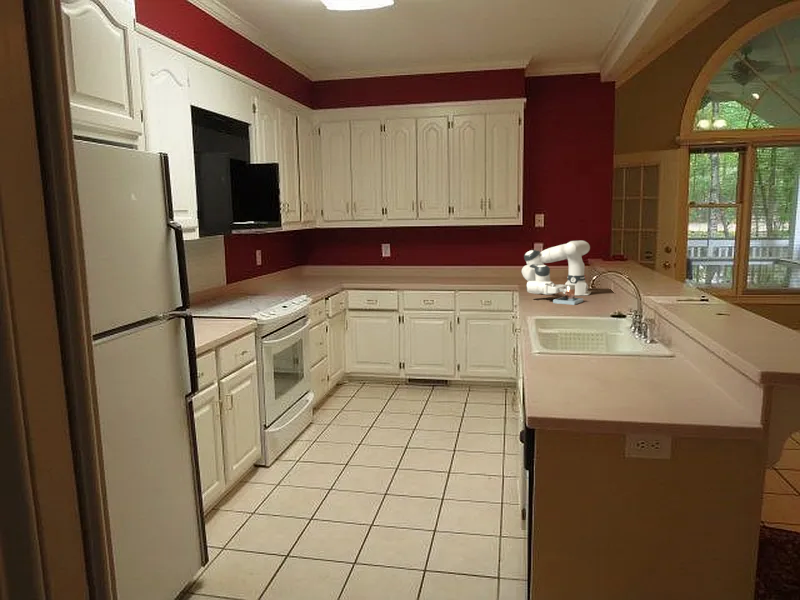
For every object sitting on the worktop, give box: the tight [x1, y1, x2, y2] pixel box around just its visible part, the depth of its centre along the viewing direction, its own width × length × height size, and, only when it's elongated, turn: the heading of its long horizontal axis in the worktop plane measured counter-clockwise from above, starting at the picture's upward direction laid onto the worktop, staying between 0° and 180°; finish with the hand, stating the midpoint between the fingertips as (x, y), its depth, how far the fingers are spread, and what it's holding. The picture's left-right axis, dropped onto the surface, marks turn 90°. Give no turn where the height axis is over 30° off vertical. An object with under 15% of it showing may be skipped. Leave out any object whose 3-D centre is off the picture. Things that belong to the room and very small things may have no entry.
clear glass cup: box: [564, 284, 576, 301], centre depth 377 cm, size 6×6×11 cm
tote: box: [552, 296, 584, 306], centre depth 375 cm, size 16×14×3 cm
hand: (569, 289), depth 377 cm, fingers open, 8 cm apart
